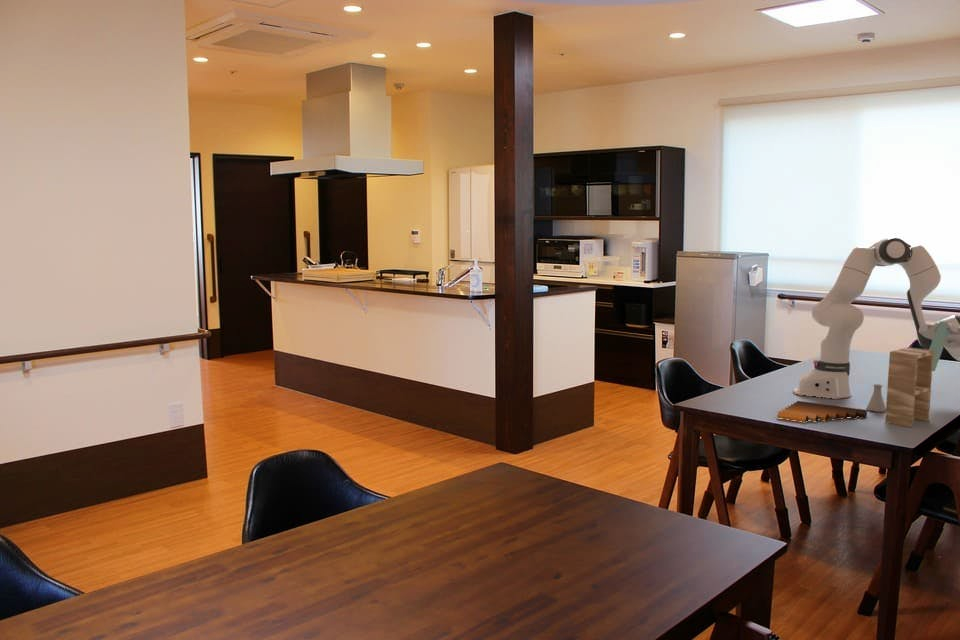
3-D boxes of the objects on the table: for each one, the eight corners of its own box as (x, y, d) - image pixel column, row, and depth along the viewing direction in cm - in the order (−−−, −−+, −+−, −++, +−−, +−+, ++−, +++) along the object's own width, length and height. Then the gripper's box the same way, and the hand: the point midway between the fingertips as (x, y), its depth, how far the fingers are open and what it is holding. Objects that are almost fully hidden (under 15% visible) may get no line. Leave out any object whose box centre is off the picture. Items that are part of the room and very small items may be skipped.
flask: (862, 410, 306) (864, 384, 305) (869, 407, 311) (871, 382, 310) (882, 413, 301) (884, 387, 300) (889, 410, 306) (891, 384, 305)
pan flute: (866, 417, 296) (798, 408, 312) (867, 409, 296) (798, 399, 311) (849, 431, 277) (777, 420, 292) (850, 422, 276) (777, 411, 292)
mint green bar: (941, 325, 305) (939, 321, 303) (950, 326, 303) (948, 322, 301) (925, 369, 299) (923, 365, 298) (934, 371, 297) (932, 366, 295)
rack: (902, 415, 297) (907, 347, 294) (928, 420, 290) (933, 350, 287) (885, 422, 288) (889, 351, 284) (911, 427, 281) (916, 354, 278)
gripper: (927, 328, 319) (915, 315, 310) (984, 334, 303) (974, 320, 294) (923, 343, 317) (911, 329, 309) (980, 349, 302) (969, 335, 293)
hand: (942, 325), depth 302 cm, fingers closed on mint green bar, 3 cm apart
